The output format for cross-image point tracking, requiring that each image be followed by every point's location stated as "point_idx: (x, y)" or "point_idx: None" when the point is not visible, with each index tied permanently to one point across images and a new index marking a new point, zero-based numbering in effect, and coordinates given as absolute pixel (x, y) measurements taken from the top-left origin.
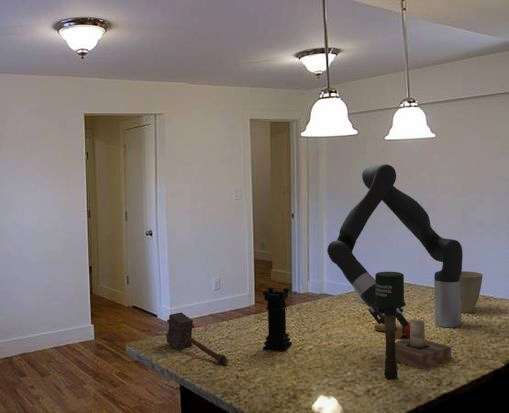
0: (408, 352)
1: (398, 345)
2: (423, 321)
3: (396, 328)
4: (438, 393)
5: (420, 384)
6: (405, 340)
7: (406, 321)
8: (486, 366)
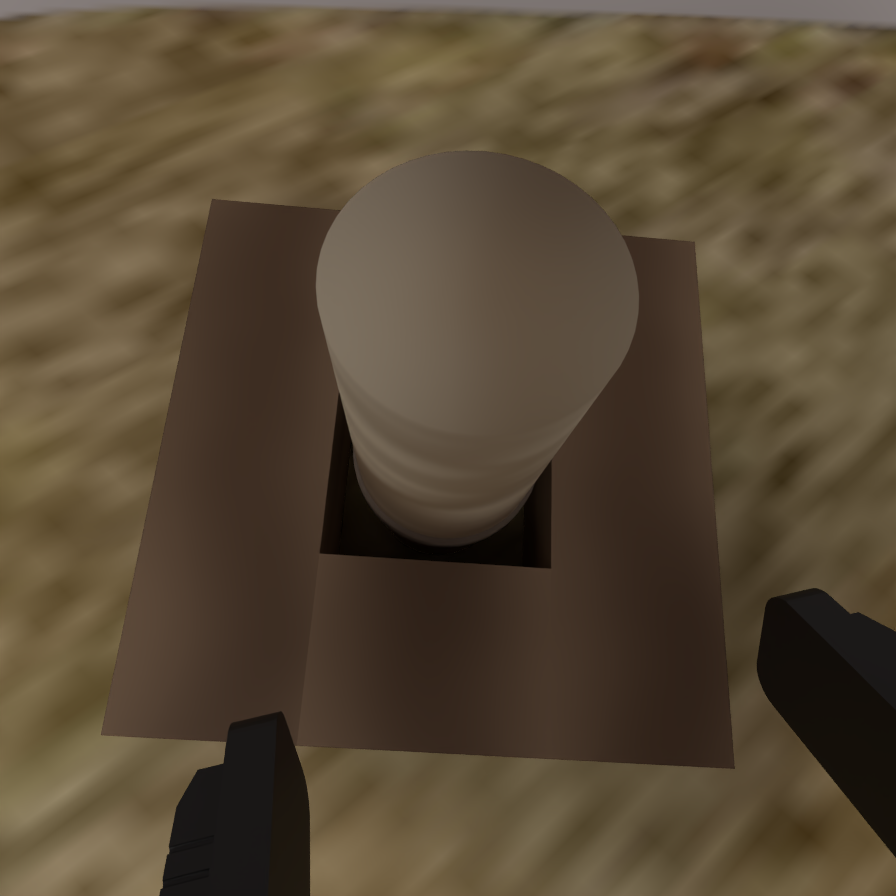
0: (703, 395)
1: (618, 625)
2: (425, 172)
3: (798, 599)
4: (880, 37)
5: (876, 165)
6: (365, 710)
7: (269, 762)
8: (205, 49)
